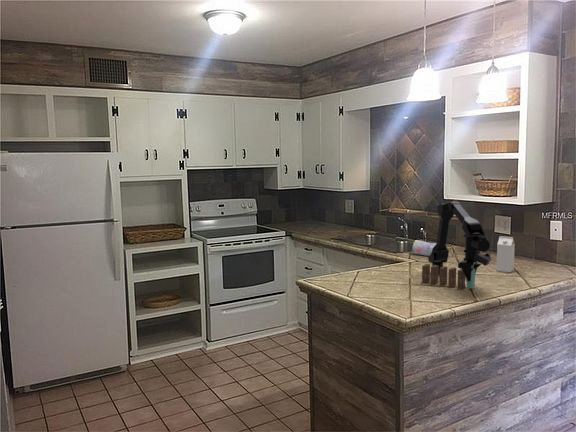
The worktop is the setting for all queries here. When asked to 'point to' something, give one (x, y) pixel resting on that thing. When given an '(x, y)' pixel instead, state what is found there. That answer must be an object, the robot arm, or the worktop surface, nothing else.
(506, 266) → the milk carton
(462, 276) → the walnut domino
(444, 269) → the walnut domino
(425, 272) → the walnut domino
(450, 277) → the walnut domino
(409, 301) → the worktop surface
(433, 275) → the walnut domino
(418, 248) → the pencil case
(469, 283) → the teal domino
